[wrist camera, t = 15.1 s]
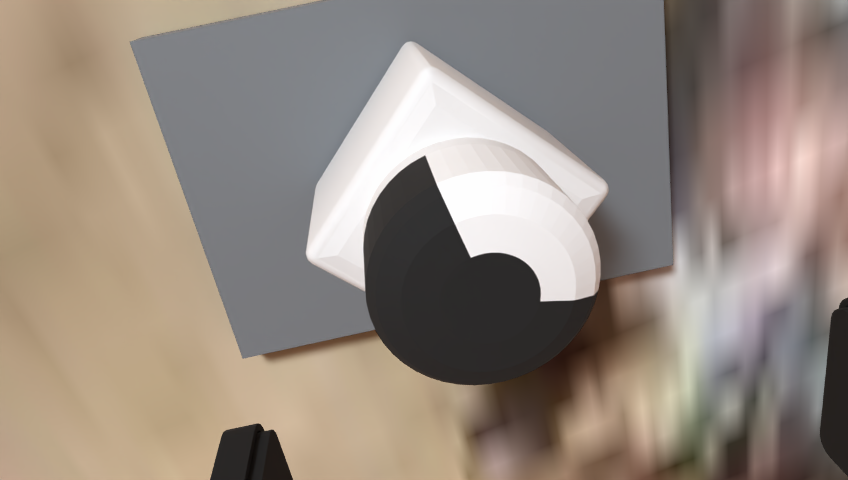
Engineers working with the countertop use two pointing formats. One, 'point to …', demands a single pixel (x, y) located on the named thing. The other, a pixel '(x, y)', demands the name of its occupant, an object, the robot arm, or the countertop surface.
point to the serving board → (346, 98)
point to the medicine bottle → (459, 226)
